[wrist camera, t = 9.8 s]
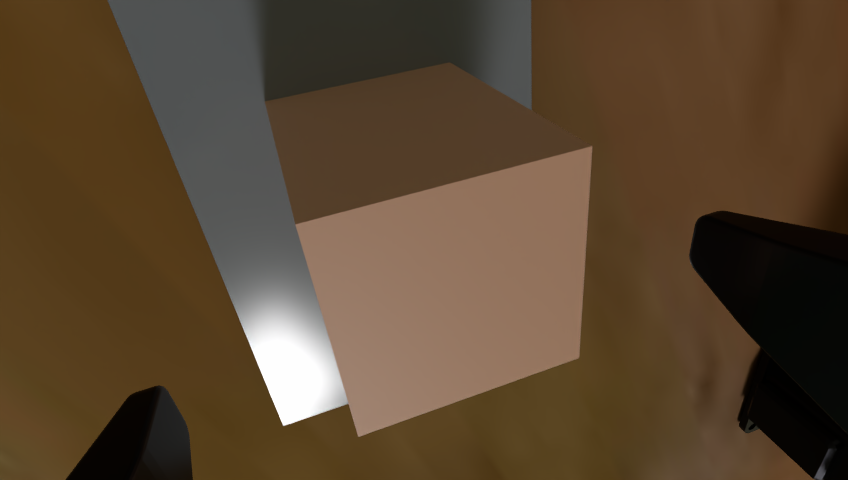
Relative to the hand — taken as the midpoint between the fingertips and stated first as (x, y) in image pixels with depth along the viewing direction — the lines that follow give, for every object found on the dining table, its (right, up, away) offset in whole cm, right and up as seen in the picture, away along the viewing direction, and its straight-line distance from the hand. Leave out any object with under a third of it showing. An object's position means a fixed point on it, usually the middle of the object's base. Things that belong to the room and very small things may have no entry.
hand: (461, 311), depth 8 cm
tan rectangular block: (-2, +3, +5) cm, 6 cm away
